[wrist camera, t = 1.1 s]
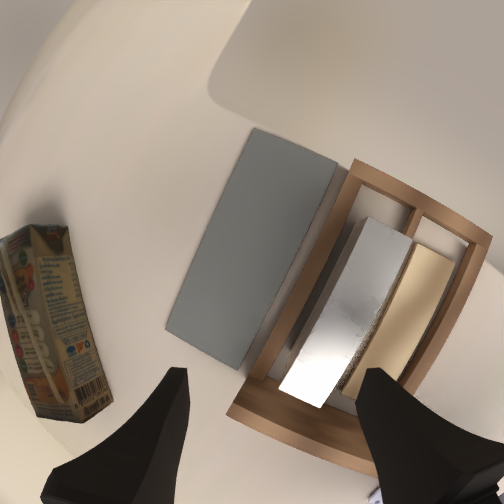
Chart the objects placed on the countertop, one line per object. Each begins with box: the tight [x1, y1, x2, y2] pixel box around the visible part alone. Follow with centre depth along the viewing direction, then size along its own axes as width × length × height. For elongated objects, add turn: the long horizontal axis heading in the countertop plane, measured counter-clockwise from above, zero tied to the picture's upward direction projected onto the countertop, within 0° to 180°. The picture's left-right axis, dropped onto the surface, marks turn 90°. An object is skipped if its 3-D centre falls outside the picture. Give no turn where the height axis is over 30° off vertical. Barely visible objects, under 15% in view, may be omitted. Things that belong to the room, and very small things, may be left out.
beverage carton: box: [0, 224, 113, 423], centre depth 26 cm, size 8×19×7 cm, turn 14°
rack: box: [226, 159, 493, 478], centre depth 20 cm, size 12×19×6 cm, turn 154°
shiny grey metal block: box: [279, 216, 413, 408], centre depth 20 cm, size 3×11×7 cm, turn 154°
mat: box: [165, 128, 338, 370], centre depth 25 cm, size 7×18×1 cm, turn 154°
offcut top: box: [341, 243, 456, 400], centre depth 22 cm, size 4×13×1 cm, turn 156°
